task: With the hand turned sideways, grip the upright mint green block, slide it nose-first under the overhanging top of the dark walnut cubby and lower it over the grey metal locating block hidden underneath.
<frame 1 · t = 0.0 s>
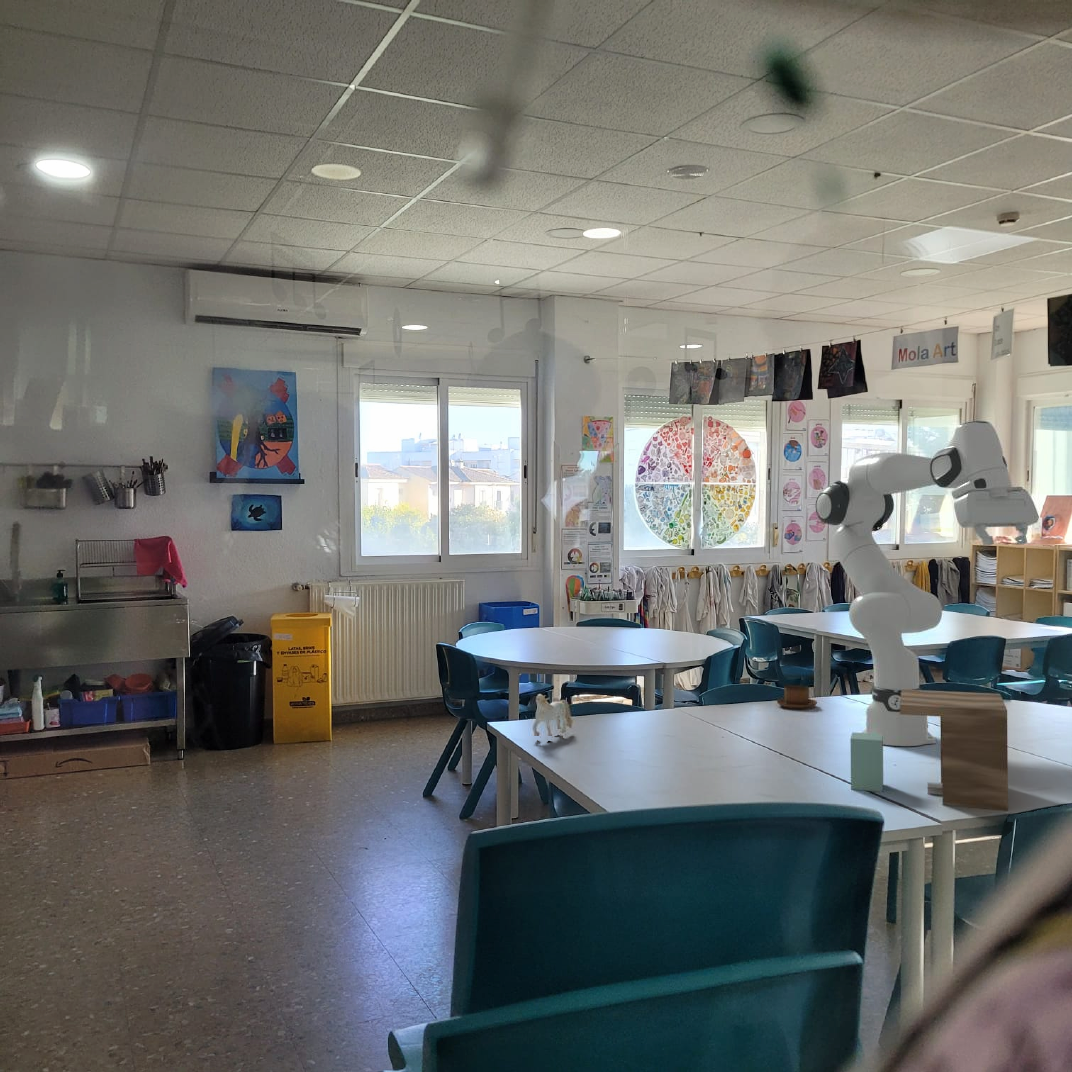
hand: (1005, 544, 222), 52 cm above the table, tool tilted 20°, fingers open, 8 cm apart
upright mint green block: (867, 786, 215), on the table
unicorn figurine: (558, 742, 264), on the table
cubby: (957, 793, 209), on the table
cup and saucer: (796, 708, 306), on the table
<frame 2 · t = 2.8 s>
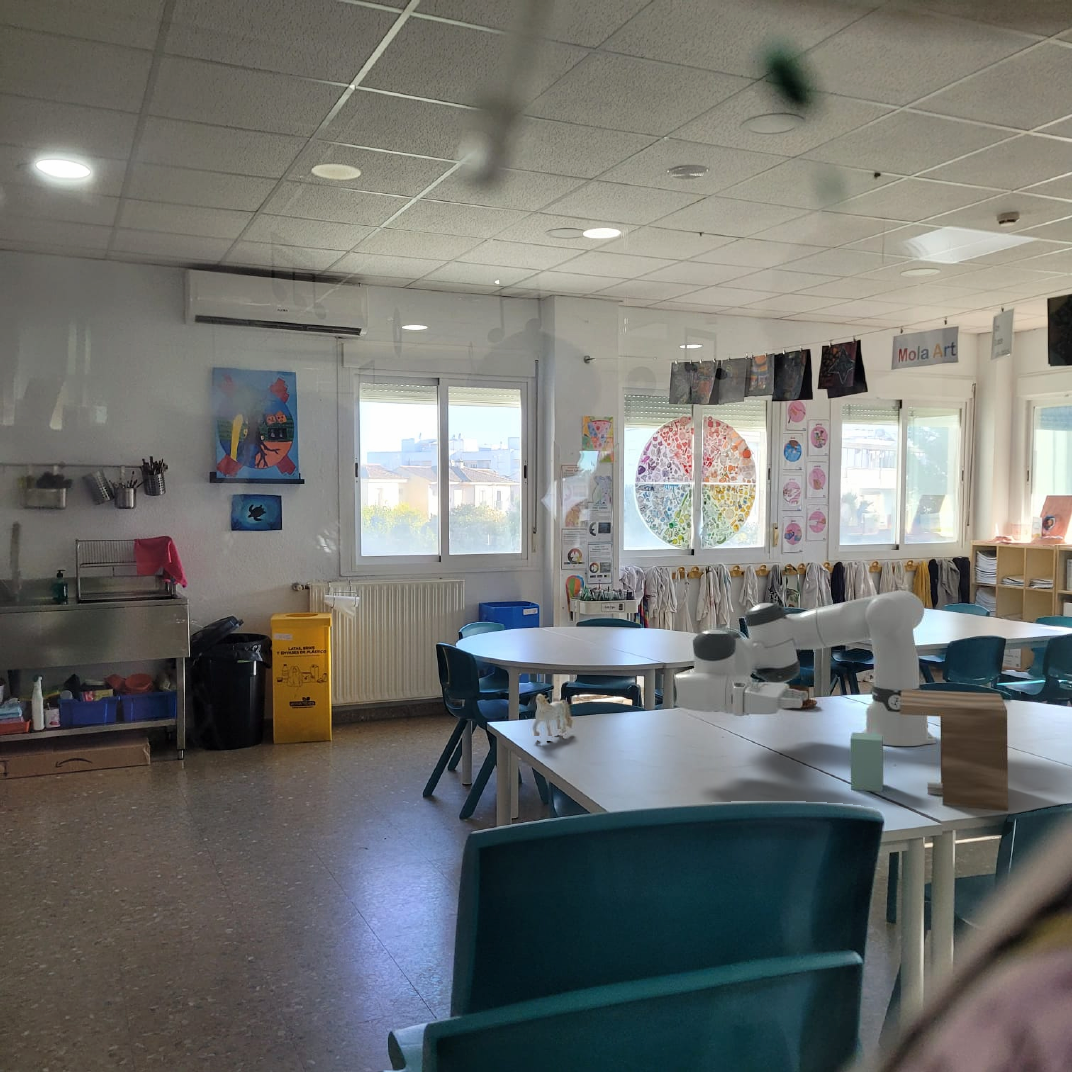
hand: (804, 699, 220), 18 cm above the table, tool horizontal, fingers open, 8 cm apart
nothing on the table moved.
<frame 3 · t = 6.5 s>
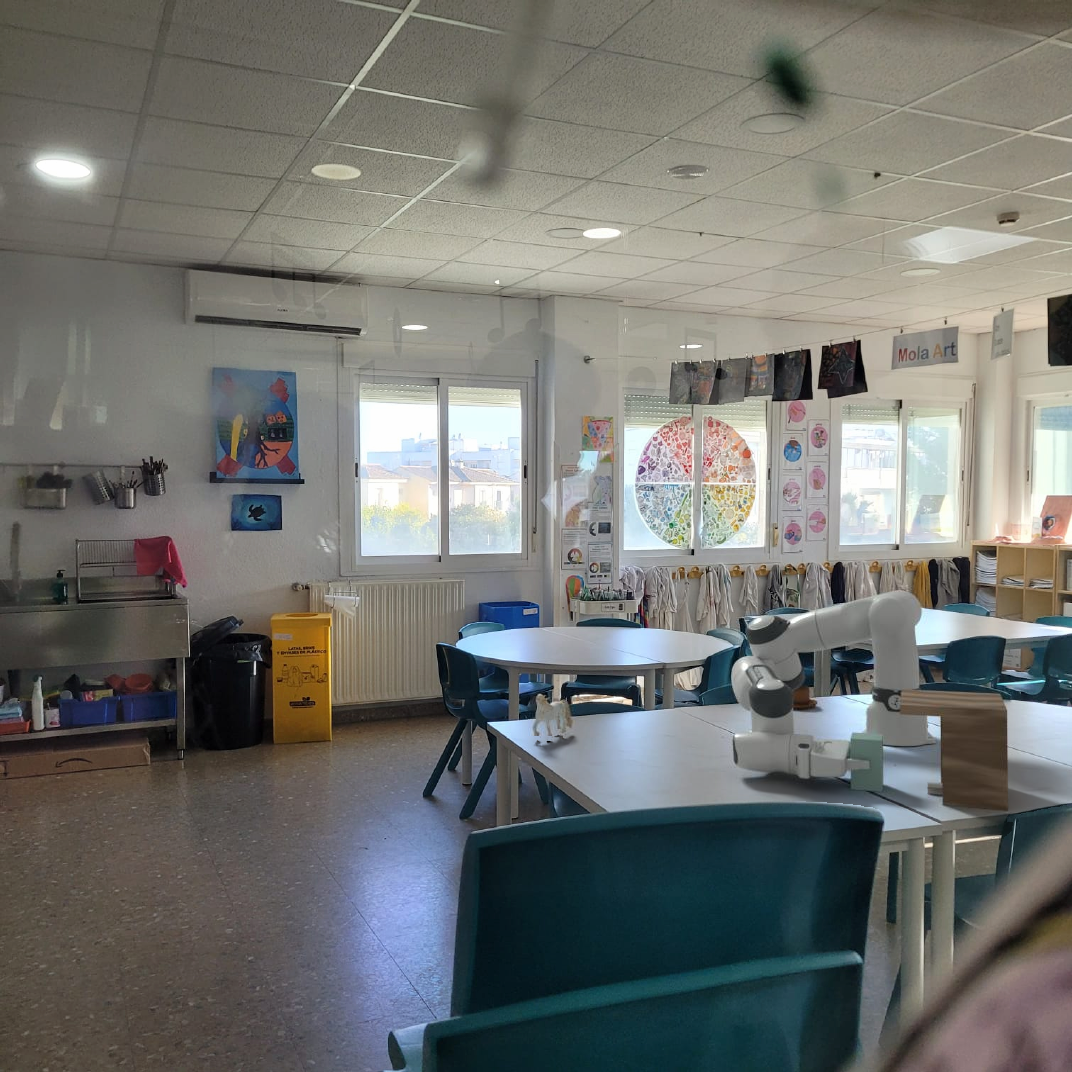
hand: (870, 759, 215), 6 cm above the table, tool horizontal, fingers open, 8 cm apart
nothing on the table moved.
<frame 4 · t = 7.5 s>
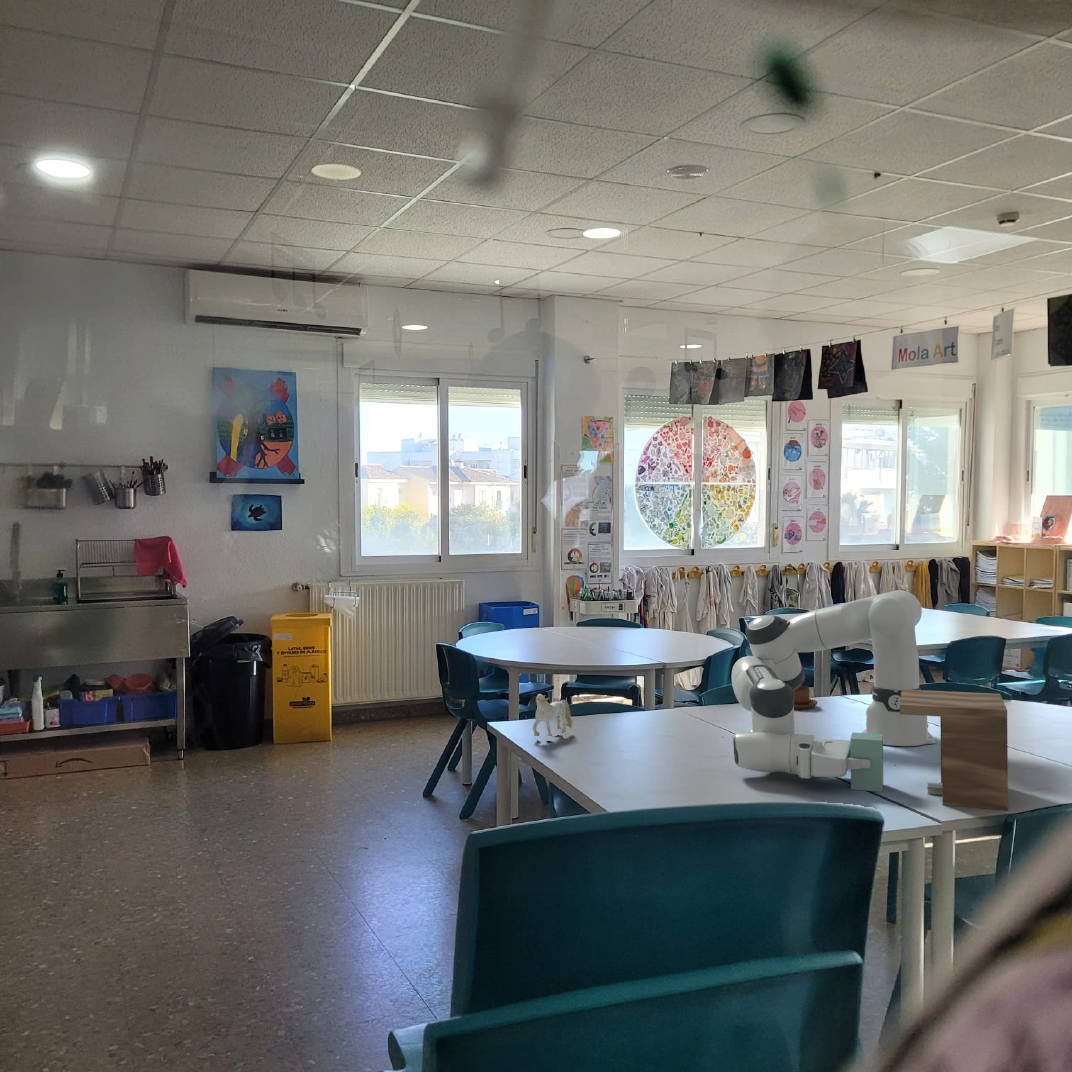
hand: (871, 759, 215), 6 cm above the table, tool horizontal, fingers closed on upright mint green block, 6 cm apart
upright mint green block: (867, 786, 215), on the table, touching gripper
everything else where it was.
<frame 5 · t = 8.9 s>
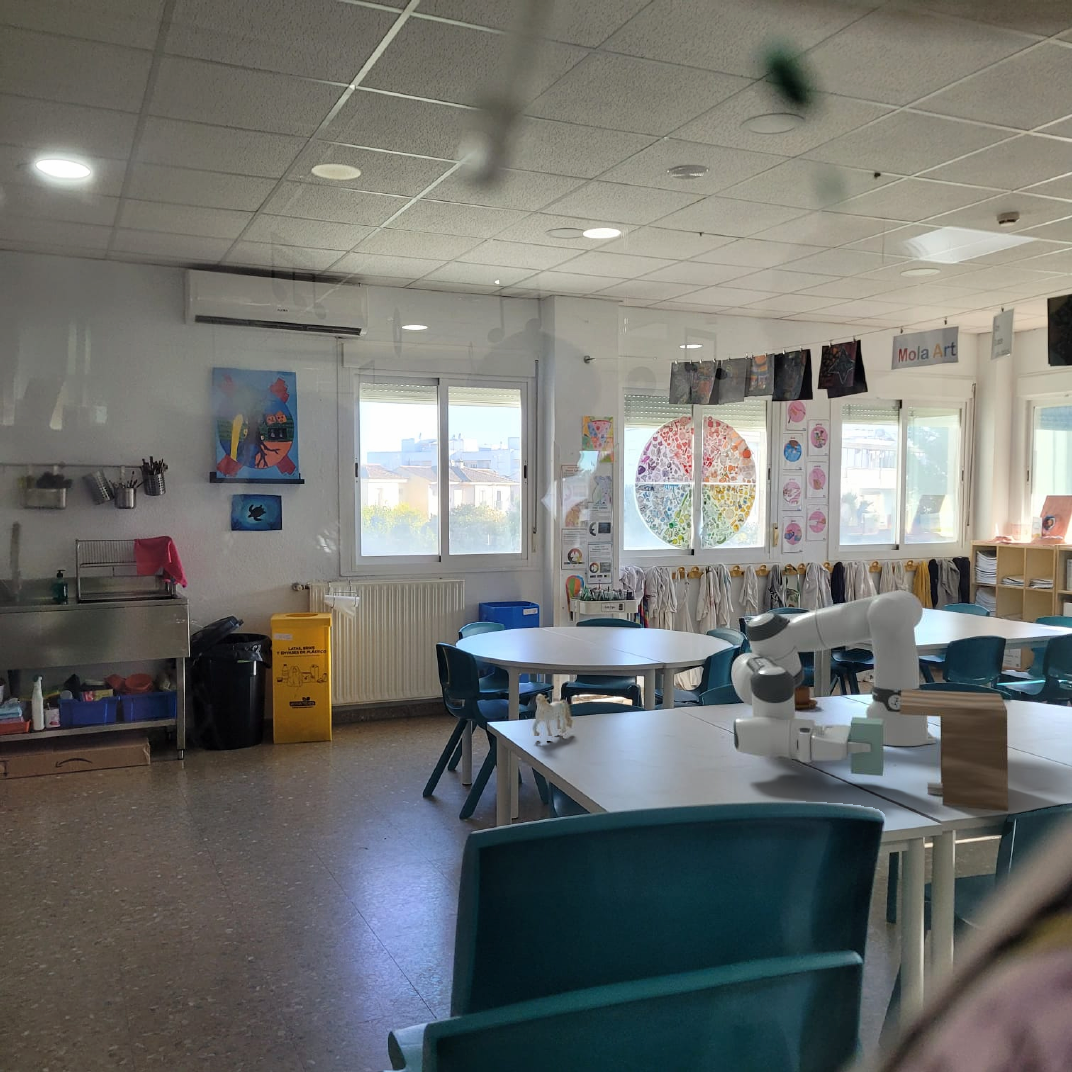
hand: (871, 743, 215), 9 cm above the table, tool horizontal, fingers closed on upright mint green block, 6 cm apart
upright mint green block: (867, 771, 215), point 3 cm above the table, touching gripper
everything else where it was.
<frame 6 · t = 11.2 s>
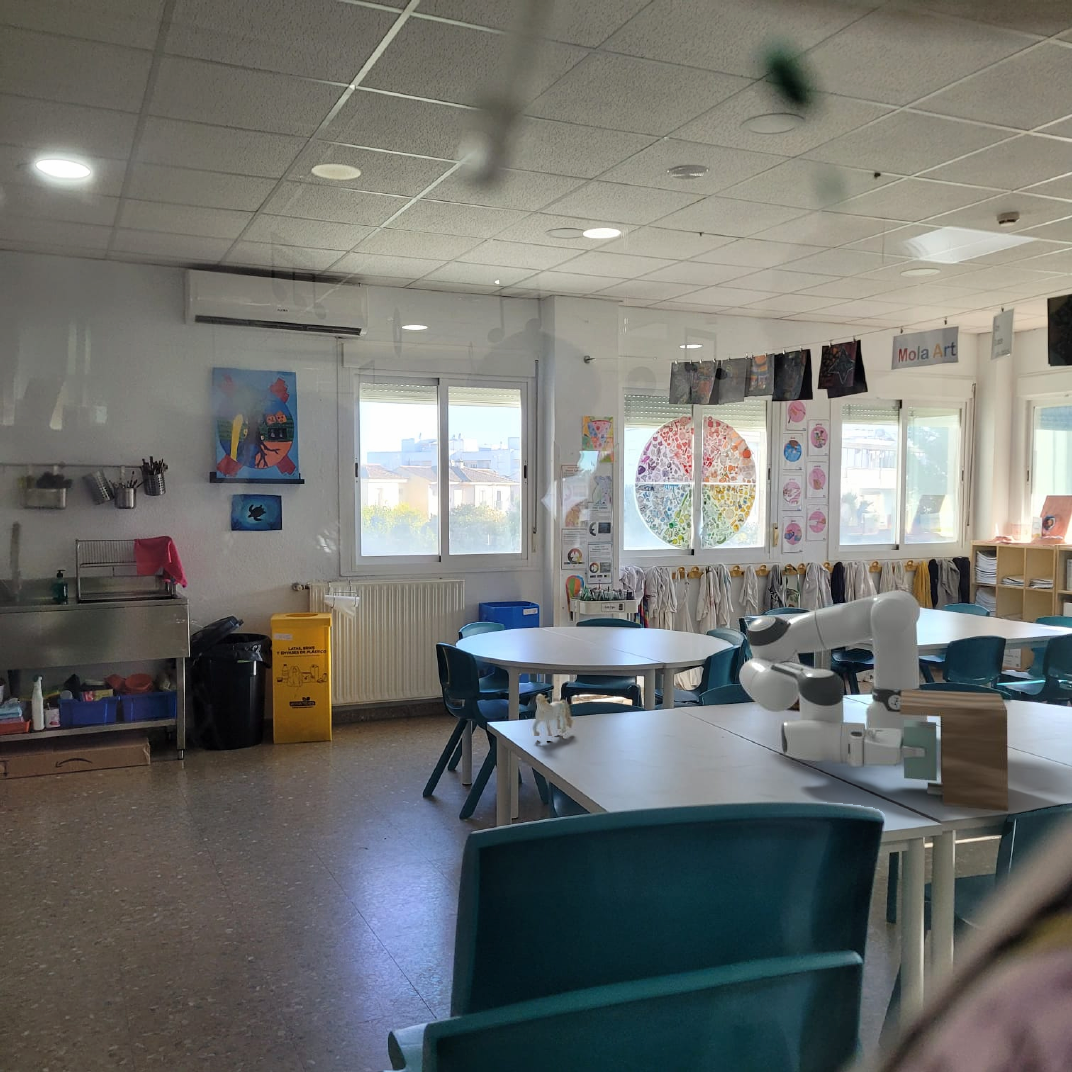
hand: (924, 747, 210), 9 cm above the table, tool horizontal, fingers closed on upright mint green block, 6 cm apart
upright mint green block: (920, 775, 211), point 3 cm above the table, touching gripper
everything else where it was.
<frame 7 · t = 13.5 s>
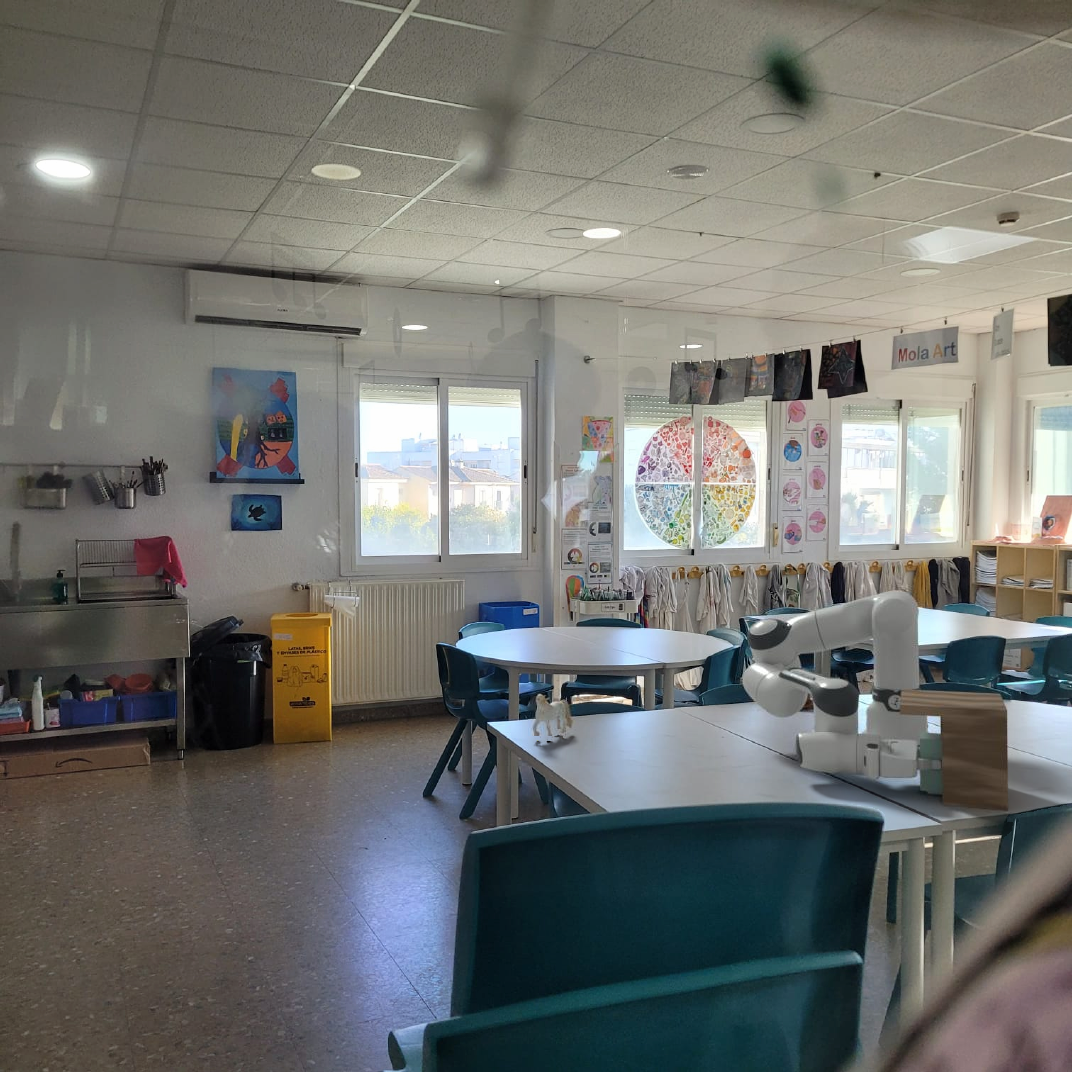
hand: (940, 760, 210), 7 cm above the table, tool horizontal, fingers closed on upright mint green block, 6 cm apart
upright mint green block: (936, 787, 210), point 1 cm above the table, touching gripper
everything else where it was.
when the fingers open (7 cm above the table, at t = 13.6 s): upright mint green block stays where it is, resting in cubby.
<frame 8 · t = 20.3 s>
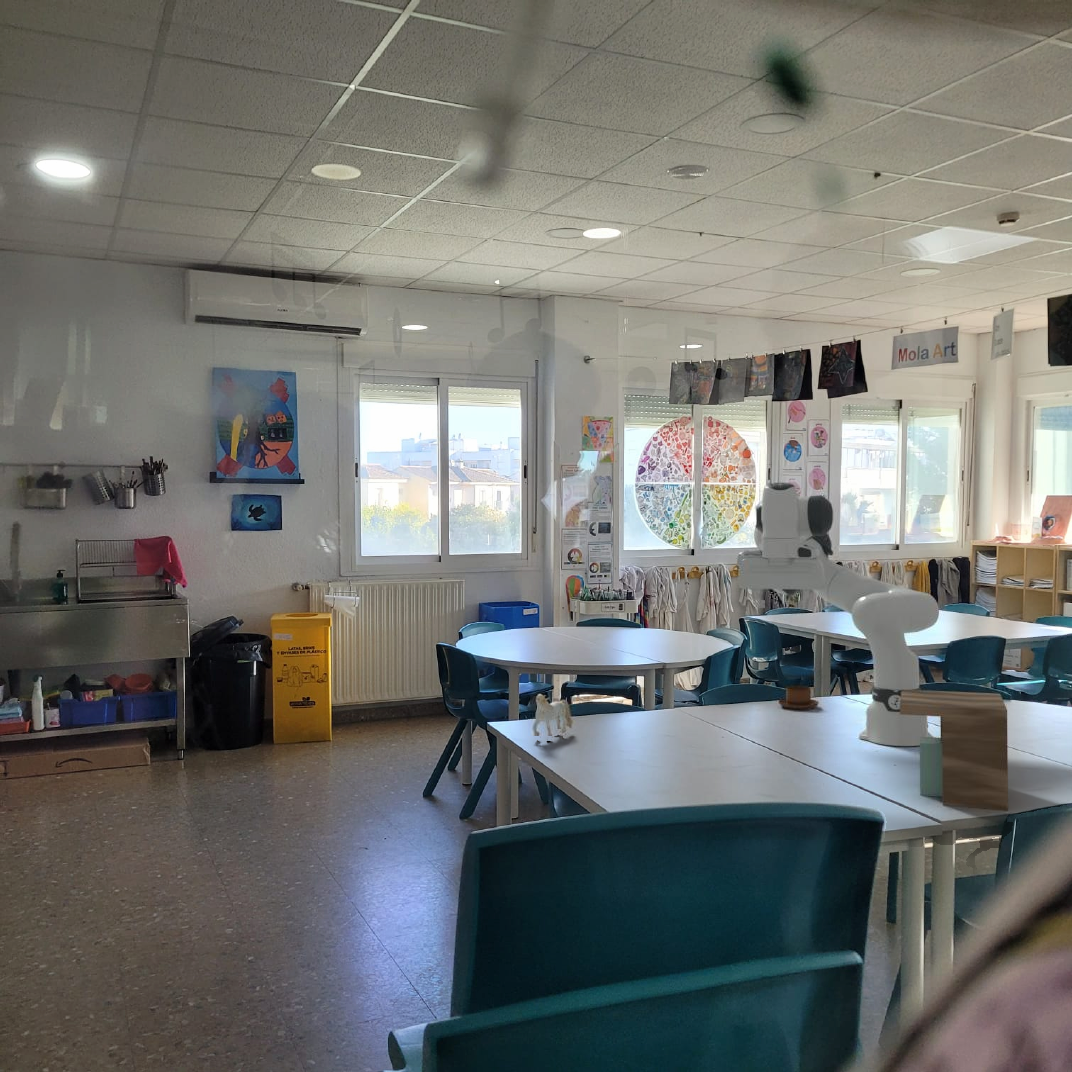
hand: (781, 608, 237), 37 cm above the table, tool pointing down, fingers open, 8 cm apart
upright mint green block: (936, 792, 210), resting in cubby
everything else where it was.
at the end: upright mint green block 0.1 cm from the target spot on the cubby, point 0.0 cm above the cubby's base; upright mint green block tilted 0°; the gripper is holding nothing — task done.
